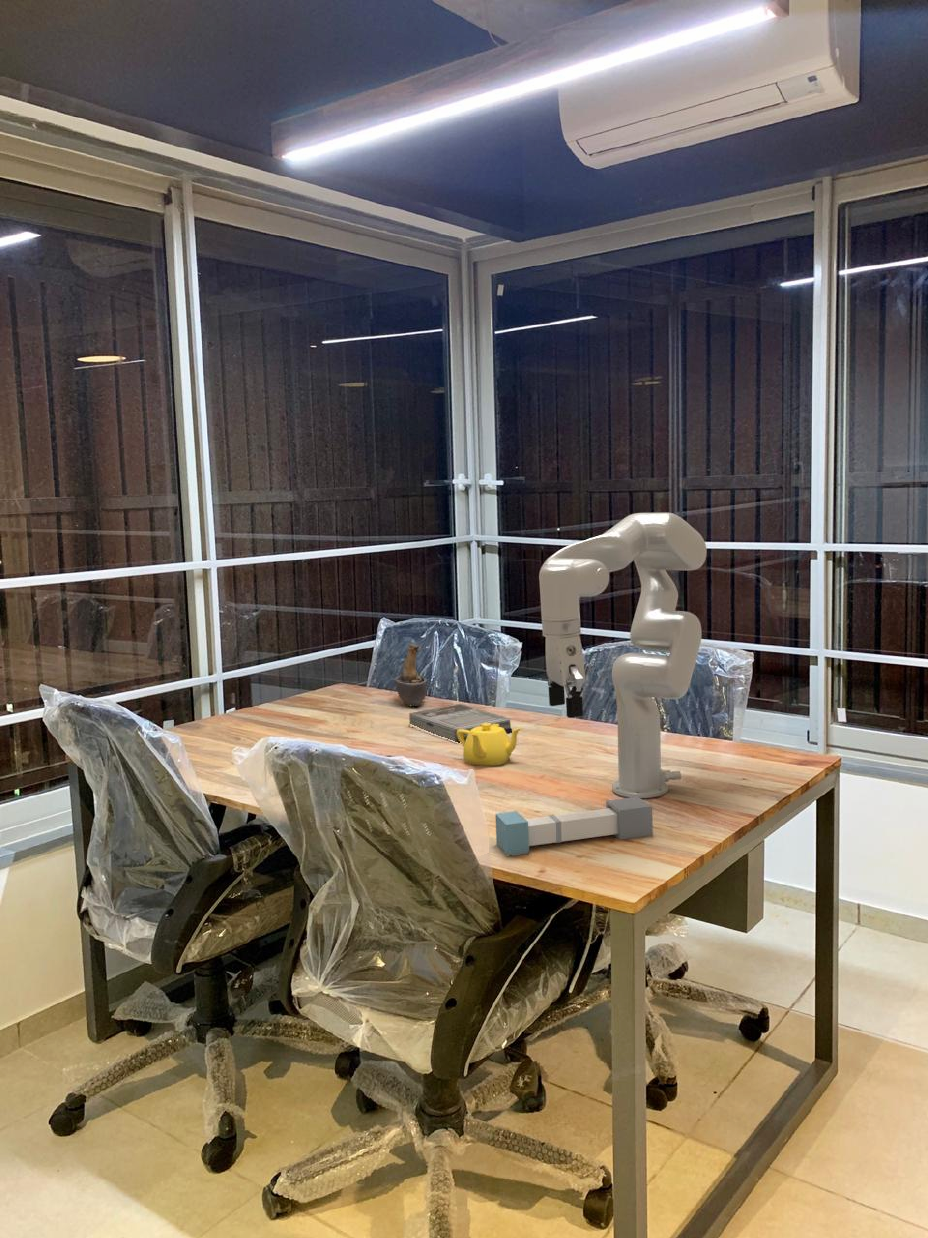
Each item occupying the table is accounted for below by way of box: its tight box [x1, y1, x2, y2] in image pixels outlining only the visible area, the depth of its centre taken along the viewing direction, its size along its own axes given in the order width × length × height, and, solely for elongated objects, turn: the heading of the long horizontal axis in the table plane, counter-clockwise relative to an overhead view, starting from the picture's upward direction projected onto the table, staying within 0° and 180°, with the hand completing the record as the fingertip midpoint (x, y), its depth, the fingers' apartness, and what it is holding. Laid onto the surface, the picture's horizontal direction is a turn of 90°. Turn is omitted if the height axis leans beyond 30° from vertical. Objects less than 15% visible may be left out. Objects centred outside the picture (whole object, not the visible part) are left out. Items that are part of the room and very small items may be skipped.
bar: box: [524, 808, 618, 847], centre depth 198 cm, size 24×4×4 cm, turn 105°
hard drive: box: [408, 703, 513, 743], centre depth 291 cm, size 18×27×4 cm
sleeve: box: [605, 797, 654, 841], centre depth 201 cm, size 7×7×6 cm
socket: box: [495, 810, 530, 856], centre depth 195 cm, size 4×7×6 cm, turn 15°
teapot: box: [457, 723, 523, 767], centre depth 256 cm, size 14×13×10 cm
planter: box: [394, 643, 428, 707], centre depth 325 cm, size 15×17×20 cm
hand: (565, 710), depth 201 cm, fingers open, 9 cm apart
